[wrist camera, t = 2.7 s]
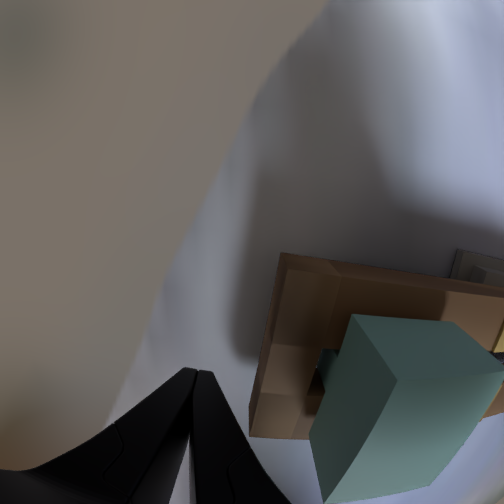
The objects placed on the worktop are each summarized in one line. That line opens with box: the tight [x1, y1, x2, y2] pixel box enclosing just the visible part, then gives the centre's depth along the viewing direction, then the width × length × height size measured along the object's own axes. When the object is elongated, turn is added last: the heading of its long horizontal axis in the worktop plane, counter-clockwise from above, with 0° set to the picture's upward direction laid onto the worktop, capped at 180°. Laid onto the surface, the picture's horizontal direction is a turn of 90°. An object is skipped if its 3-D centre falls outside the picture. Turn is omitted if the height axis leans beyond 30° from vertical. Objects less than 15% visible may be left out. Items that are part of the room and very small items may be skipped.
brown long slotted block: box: [249, 249, 504, 440], centre depth 10 cm, size 9×22×6 cm, turn 81°
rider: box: [308, 314, 504, 504], centre depth 8 cm, size 5×4×5 cm
